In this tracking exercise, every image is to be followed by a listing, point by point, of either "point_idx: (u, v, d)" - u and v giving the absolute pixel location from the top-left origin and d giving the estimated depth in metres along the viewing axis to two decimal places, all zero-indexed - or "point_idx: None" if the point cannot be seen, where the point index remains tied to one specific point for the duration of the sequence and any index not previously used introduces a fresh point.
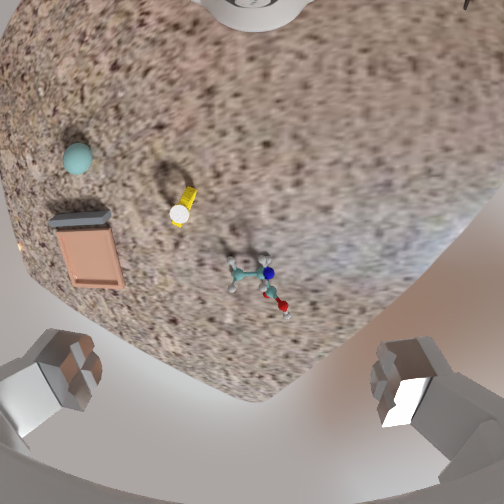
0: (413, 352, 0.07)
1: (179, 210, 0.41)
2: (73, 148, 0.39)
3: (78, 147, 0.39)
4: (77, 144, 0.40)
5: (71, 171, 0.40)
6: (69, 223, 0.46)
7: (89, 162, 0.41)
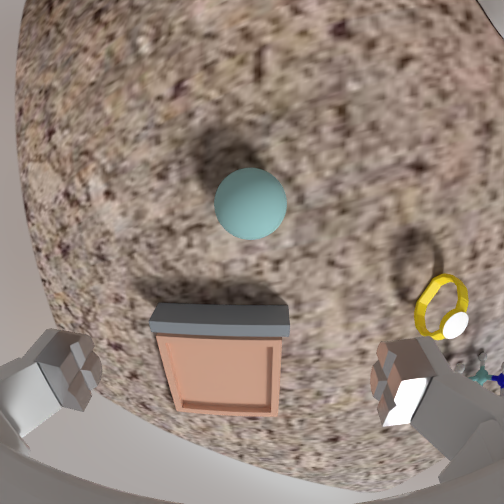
0: (413, 352, 0.07)
1: (458, 320, 0.21)
2: (258, 180, 0.19)
3: (269, 180, 0.20)
4: (260, 171, 0.20)
5: (246, 234, 0.20)
6: (204, 331, 0.26)
7: (283, 216, 0.22)
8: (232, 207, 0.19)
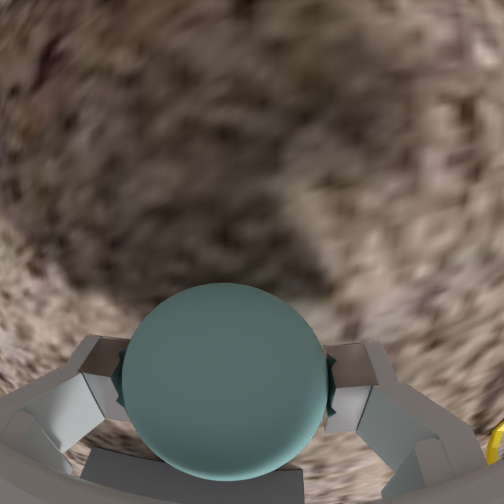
0: (356, 358, 0.07)
1: None
2: (245, 371, 0.05)
3: (283, 361, 0.05)
4: (252, 319, 0.06)
5: None
6: None
7: None
8: (161, 446, 0.05)
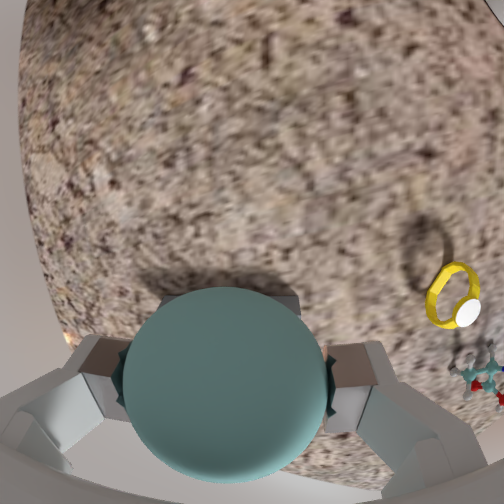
0: (356, 358, 0.07)
1: (471, 307, 0.20)
2: (245, 376, 0.05)
3: (283, 365, 0.05)
4: (252, 324, 0.06)
5: None
6: None
7: None
8: (162, 449, 0.05)
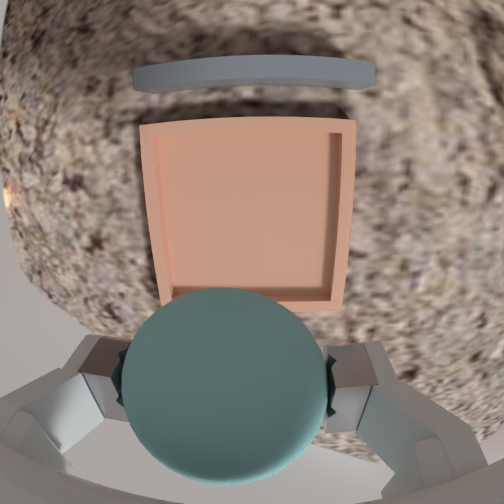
0: (356, 358, 0.07)
1: None
2: (244, 377, 0.05)
3: (282, 367, 0.05)
4: (252, 325, 0.06)
5: None
6: (228, 70, 0.13)
7: None
8: (161, 451, 0.05)
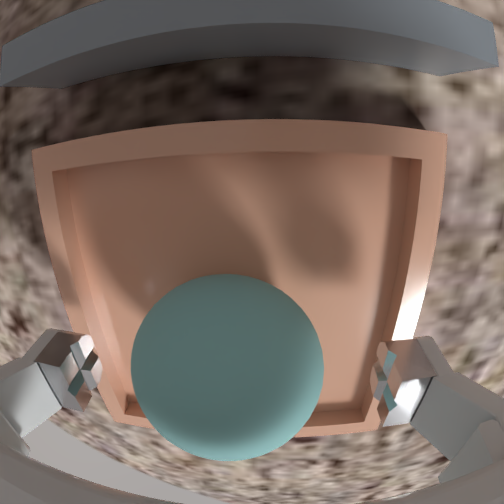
0: (413, 352, 0.07)
1: None
2: (245, 351, 0.06)
3: (279, 343, 0.06)
4: (252, 305, 0.06)
5: None
6: (174, 12, 0.04)
7: None
8: (167, 424, 0.06)
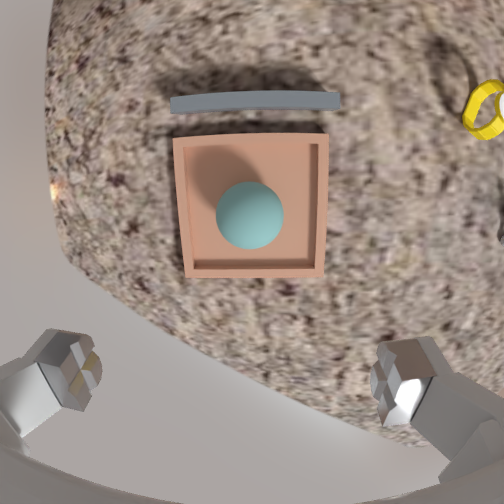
0: (413, 352, 0.07)
1: None
2: (256, 193, 0.21)
3: (266, 194, 0.21)
4: (258, 185, 0.22)
5: (244, 244, 0.22)
6: (238, 101, 0.20)
7: None
8: (231, 219, 0.21)
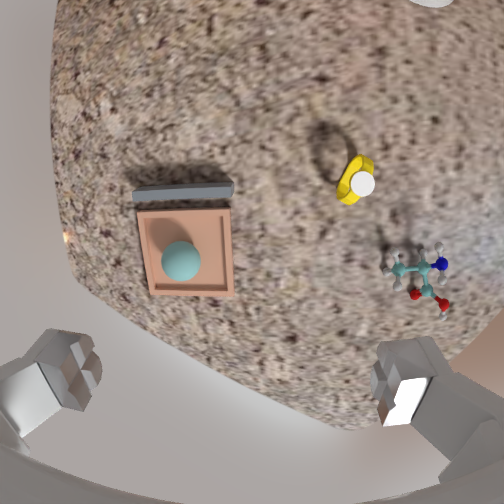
0: (413, 352, 0.07)
1: (363, 178, 0.30)
2: (180, 251, 0.36)
3: (186, 251, 0.36)
4: (183, 245, 0.37)
5: (175, 279, 0.37)
6: (170, 195, 0.35)
7: (198, 268, 0.38)
8: (166, 265, 0.36)
